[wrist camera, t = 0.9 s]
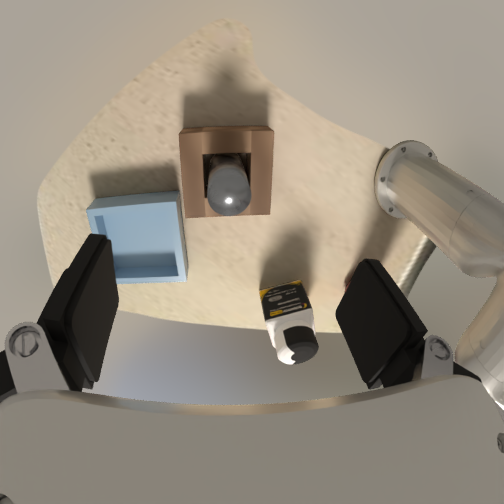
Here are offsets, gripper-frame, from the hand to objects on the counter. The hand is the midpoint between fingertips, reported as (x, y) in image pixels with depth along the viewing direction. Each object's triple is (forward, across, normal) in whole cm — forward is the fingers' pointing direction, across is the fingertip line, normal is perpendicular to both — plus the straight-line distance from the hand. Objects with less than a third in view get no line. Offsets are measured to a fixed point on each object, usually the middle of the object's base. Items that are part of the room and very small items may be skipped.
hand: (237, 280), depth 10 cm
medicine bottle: (+26, -14, +24) cm, 38 cm away
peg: (+26, -1, +3) cm, 26 cm away
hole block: (+26, -1, +3) cm, 26 cm away
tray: (+26, +9, +14) cm, 31 cm away
